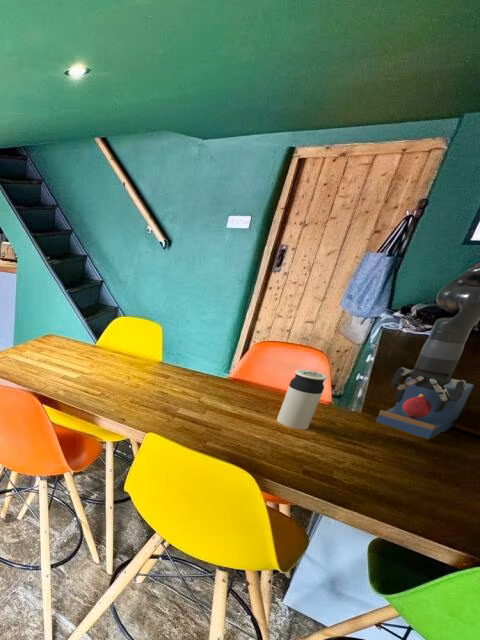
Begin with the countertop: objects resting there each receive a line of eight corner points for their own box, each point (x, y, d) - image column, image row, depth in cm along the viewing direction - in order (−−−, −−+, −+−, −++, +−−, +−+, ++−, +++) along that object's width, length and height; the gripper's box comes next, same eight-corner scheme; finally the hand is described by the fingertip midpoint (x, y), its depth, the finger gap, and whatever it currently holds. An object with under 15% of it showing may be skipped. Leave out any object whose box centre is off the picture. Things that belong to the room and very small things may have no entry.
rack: (402, 411, 137) (419, 372, 132) (453, 425, 127) (474, 384, 122) (373, 425, 127) (390, 384, 122) (426, 442, 117) (447, 398, 112)
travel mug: (313, 431, 124) (335, 377, 117) (294, 434, 122) (315, 379, 115) (287, 419, 131) (306, 368, 124) (269, 422, 129) (288, 370, 122)
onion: (426, 419, 122) (438, 396, 119) (422, 424, 119) (434, 400, 116) (400, 412, 127) (411, 389, 124) (395, 416, 124) (406, 393, 121)
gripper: (481, 359, 111) (455, 412, 117) (410, 347, 123) (390, 395, 129) (472, 364, 108) (446, 418, 114) (400, 350, 120) (380, 400, 126)
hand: (416, 406), depth 121 cm, fingers open, 8 cm apart
